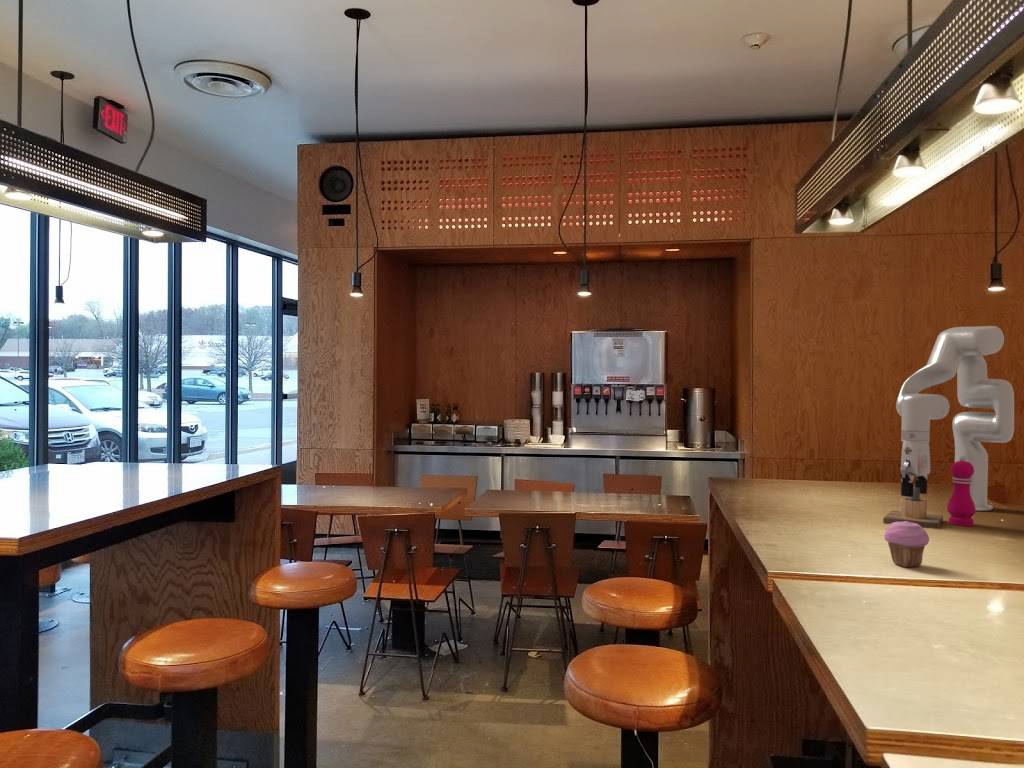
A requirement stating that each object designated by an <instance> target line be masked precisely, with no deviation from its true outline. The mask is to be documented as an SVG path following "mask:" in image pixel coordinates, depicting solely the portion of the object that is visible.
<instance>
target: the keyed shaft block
mask: <svg viewBox="0 0 1024 768" xmlns="http://www.w3.org/2000/svg"><path fill="white" fill-rule="evenodd" d="M920 497H921V493H920V488H917V487H915V486H914V487H913V497H907V498H908V500H911V501H920V499H921V498H920ZM882 519H883V520H882V522H883V524H888V525H890V524H891V523H894V522H904V521H908V522H913V523H916V524H919V525H920V526H921V527H922V528H930V529H938V528H939V527H940V526H941V524H942V523H943V521H944V515H941V514H931V513H926V517H925V519H915V518H906V517H902V516H901V515H900V510H891V511H890V512H888V513H887V514H885V516H884V517H883V518H882Z"/></svg>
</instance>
